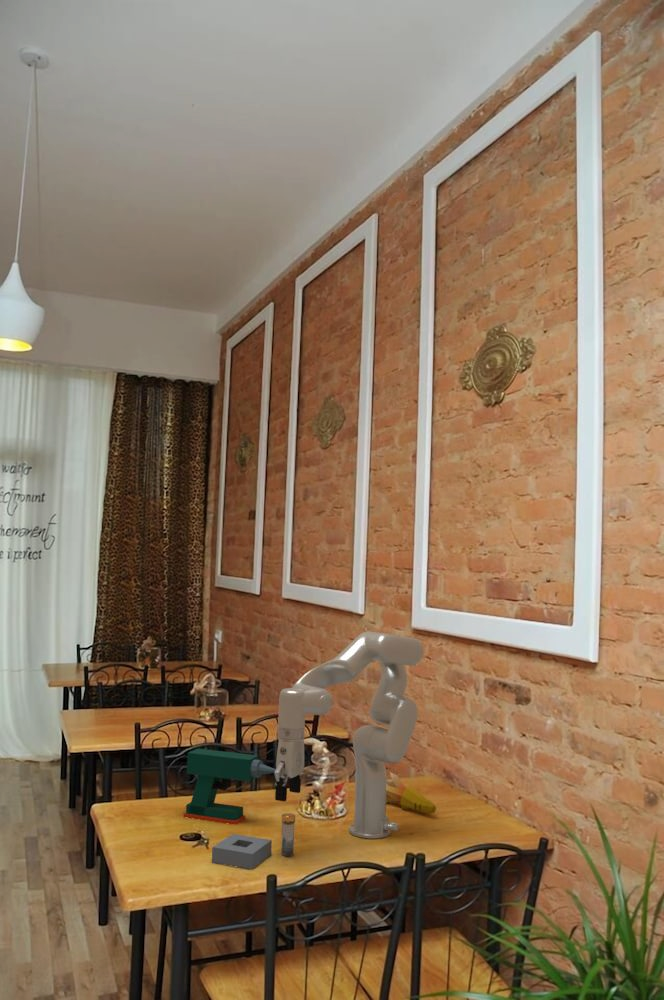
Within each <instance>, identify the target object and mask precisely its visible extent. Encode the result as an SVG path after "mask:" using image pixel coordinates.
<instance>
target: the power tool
mask: <svg viewBox="0 0 664 1000" xmlns="http://www.w3.org/2000/svg"><path fill="white" fill-rule="evenodd" d="M186 762H187V763H186V764H187V765H186V774H189V775H196V776H197V778H196V782H195V785H194V789H193V793H192V797H191V801H190V802H188V803H187V804H186V806H185V812H184V813H183V818H185V817H188V818H187V819H192V818H194V819H193V820H198V819H200V820H199V821H205V820H206V822H212V821H213V823H219V822H220V824H225V823H229V824H228V825H232V824H235V825H234V826H236V824H237V825H238V824H240V823H242V822H243V821H245V820H246V815H244V806H240V805H239V806H238V805H233V804H224V803H218V802H216V796H217V794H218V790H221V791H223V790H224V791H225V790H227V789H229V788H231V787H232V780H234V781H240V782H241V781H242V782H250V781H253V780H255V779H260V778H262V776H263V775H266V774H268V775H269V774H275V771H276V768H273V767H271V766H269V765H266V764H264V762H263V760H260V759H259V755H258V754H257V755H256V754H249V753H241V752H240V753H239V752H231V751H222V750H213V749H206V748H205V749H204V748H196V749H193V750H190V751H189V752H187V761H186Z"/></svg>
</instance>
